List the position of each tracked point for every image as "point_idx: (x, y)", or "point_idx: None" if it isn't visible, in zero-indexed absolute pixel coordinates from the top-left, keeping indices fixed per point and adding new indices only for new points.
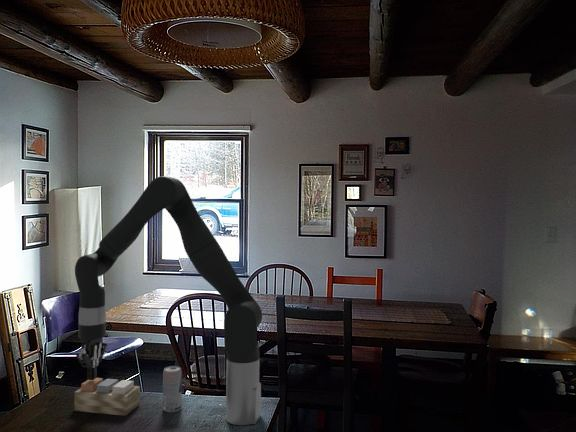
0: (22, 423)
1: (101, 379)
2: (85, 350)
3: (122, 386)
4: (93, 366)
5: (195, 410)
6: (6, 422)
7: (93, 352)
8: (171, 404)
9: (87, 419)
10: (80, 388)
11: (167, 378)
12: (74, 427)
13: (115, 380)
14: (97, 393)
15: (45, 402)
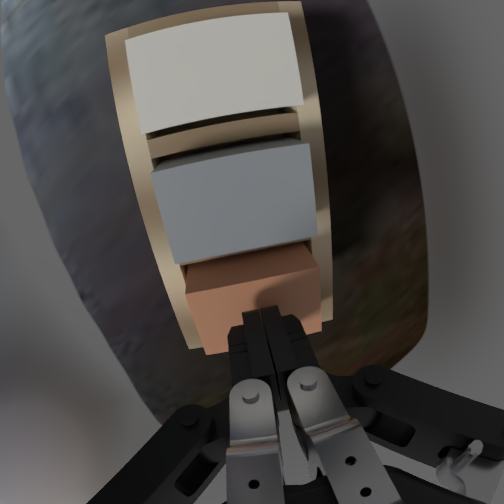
0: (408, 324)
1: (203, 289)
2: (477, 495)
3: (271, 35)
4: (318, 376)
5: None
6: (404, 354)
7: (393, 495)
8: None
9: (359, 166)
10: None
11: None
12: (418, 168)
13: (177, 177)
14: (321, 198)
15: None
